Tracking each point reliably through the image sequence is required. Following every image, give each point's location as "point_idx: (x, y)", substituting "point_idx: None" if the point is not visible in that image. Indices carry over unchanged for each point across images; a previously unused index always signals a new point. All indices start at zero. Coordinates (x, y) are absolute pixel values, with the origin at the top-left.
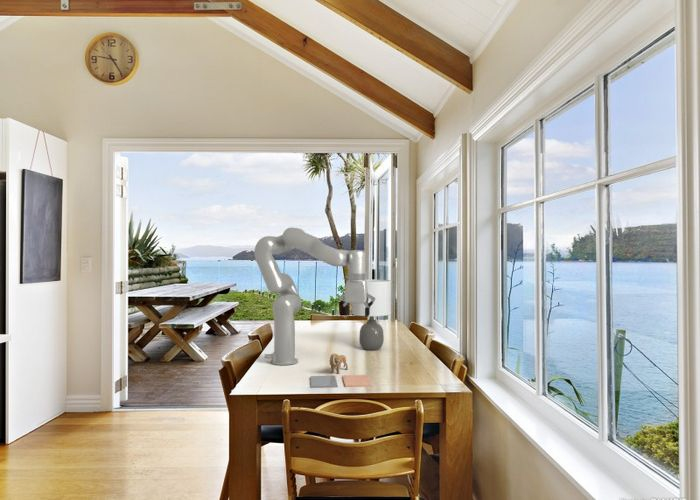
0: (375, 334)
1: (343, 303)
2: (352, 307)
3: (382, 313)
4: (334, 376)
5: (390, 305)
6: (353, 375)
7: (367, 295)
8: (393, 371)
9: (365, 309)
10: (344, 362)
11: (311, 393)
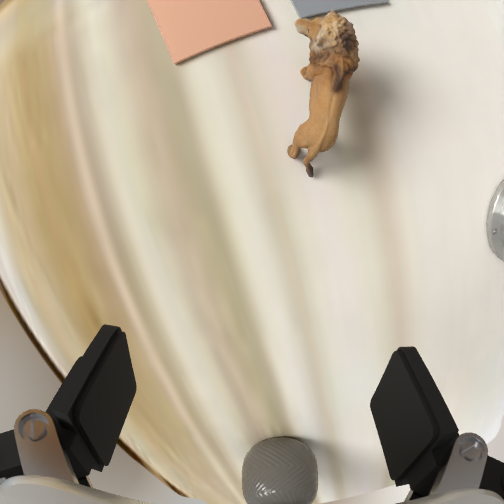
0: (260, 475)
1: (483, 475)
2: None
3: None
4: (297, 2)
5: None
6: (224, 36)
7: None
8: (100, 183)
9: (76, 392)
10: (299, 126)
11: None
